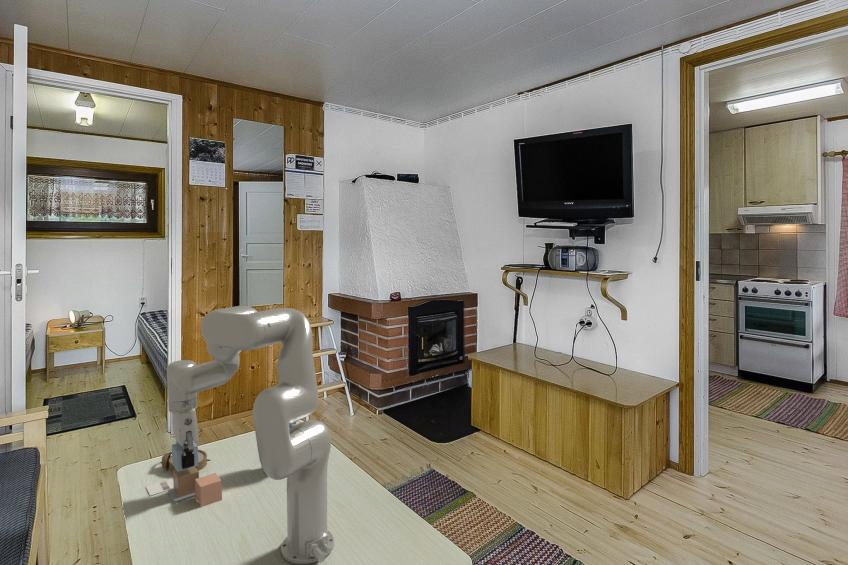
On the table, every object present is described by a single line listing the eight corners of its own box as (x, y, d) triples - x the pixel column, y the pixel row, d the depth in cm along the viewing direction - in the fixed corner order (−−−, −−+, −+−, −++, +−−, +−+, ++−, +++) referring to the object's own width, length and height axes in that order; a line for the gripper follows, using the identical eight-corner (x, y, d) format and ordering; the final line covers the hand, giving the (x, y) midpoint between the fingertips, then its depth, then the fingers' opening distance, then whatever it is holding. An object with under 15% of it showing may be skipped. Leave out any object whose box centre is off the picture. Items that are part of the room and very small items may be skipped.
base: (205, 493, 137) (204, 471, 136) (175, 503, 132) (174, 481, 131) (197, 482, 143) (196, 461, 142) (168, 492, 138) (167, 470, 137)
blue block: (198, 465, 136) (197, 446, 136) (177, 471, 133) (176, 451, 132) (193, 458, 140) (192, 439, 140) (172, 464, 137) (171, 444, 136)
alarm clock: (190, 469, 146) (152, 454, 149) (188, 483, 146) (150, 468, 150) (215, 453, 156) (178, 440, 160) (213, 466, 157) (177, 453, 161)
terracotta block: (222, 500, 134) (221, 480, 133) (201, 507, 130) (200, 487, 130) (215, 491, 138) (215, 472, 138) (195, 498, 135) (194, 479, 134)
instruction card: (183, 485, 141) (183, 484, 141) (150, 496, 135) (150, 495, 135) (178, 477, 146) (178, 476, 146) (145, 487, 140) (145, 486, 140)
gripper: (205, 409, 131) (207, 470, 132) (188, 392, 143) (190, 449, 145) (176, 415, 126) (178, 479, 127) (161, 398, 138) (163, 456, 140)
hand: (185, 462), depth 136 cm, fingers closed on blue block, 5 cm apart
